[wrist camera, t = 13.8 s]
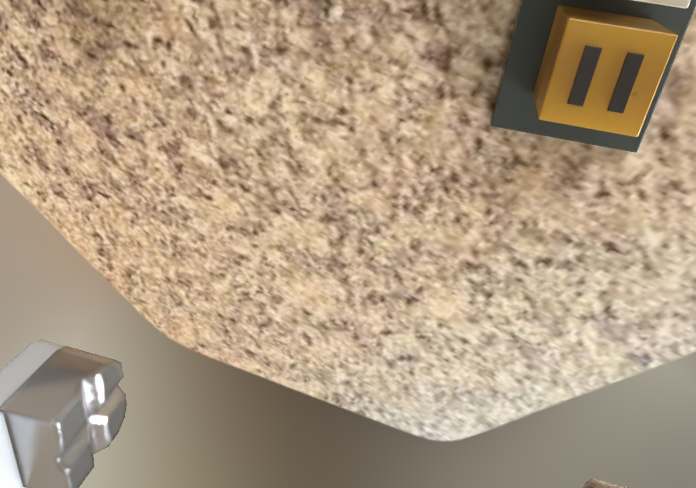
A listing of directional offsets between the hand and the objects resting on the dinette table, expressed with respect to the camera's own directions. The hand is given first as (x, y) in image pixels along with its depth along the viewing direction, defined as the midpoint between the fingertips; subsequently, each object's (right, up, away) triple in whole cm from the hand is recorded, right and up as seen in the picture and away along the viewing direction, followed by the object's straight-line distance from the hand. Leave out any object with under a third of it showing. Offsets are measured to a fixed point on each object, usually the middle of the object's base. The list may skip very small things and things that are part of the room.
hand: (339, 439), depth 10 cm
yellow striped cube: (+13, +13, +20) cm, 27 cm away
